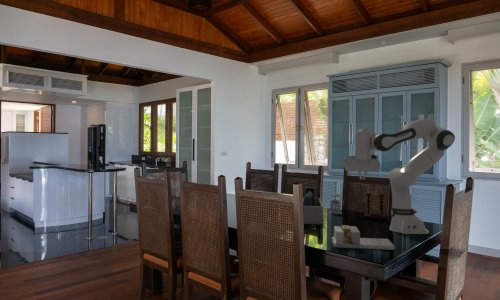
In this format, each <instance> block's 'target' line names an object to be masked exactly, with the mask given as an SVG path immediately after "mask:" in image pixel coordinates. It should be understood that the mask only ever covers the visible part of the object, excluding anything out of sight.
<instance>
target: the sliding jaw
mask: <svg viewBox="0 0 500 300" xmlns="http://www.w3.org/2000/svg"><path fill="white" fill-rule="evenodd" d="M349 226H350V225H349ZM350 228H351V242H352V243H353V244H360V238H361V232H360V230H359V229H358V227H357V226H356V225H355V226H354V225H353V226H352V225H351V226H350Z"/></svg>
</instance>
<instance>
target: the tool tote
mask: <svg viewBox="0 0 500 300" xmlns="http://www.w3.org/2000/svg"><path fill="white" fill-rule="evenodd" d="M302 198H303V202H304V197H302ZM303 207H304V224H303V225H324V210H323V209H324V206H323V203H322V200H321V198H319V197H316V206H303Z"/></svg>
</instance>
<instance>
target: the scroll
mask: <svg viewBox="0 0 500 300" xmlns="http://www.w3.org/2000/svg"><path fill="white" fill-rule="evenodd" d="M371 191H372V190H370V191H369V193H367V194H366V196H367V198H366V202H367V205H366V208H367V210H366V213H364V217H365V218H366V219H367V220H369V219H378V220H379V219H380V220H381V219H382V220H383V219H386V217H387V216H386V214H384V194H383V193H375V192H373V193H372V192H371Z"/></svg>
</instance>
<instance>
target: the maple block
mask: <svg viewBox="0 0 500 300" xmlns="http://www.w3.org/2000/svg"><path fill="white" fill-rule="evenodd" d="M341 228H342V230H343V232H344V242H351V228H350V225H348V224H347V225H346V224H342V225H341Z"/></svg>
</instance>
